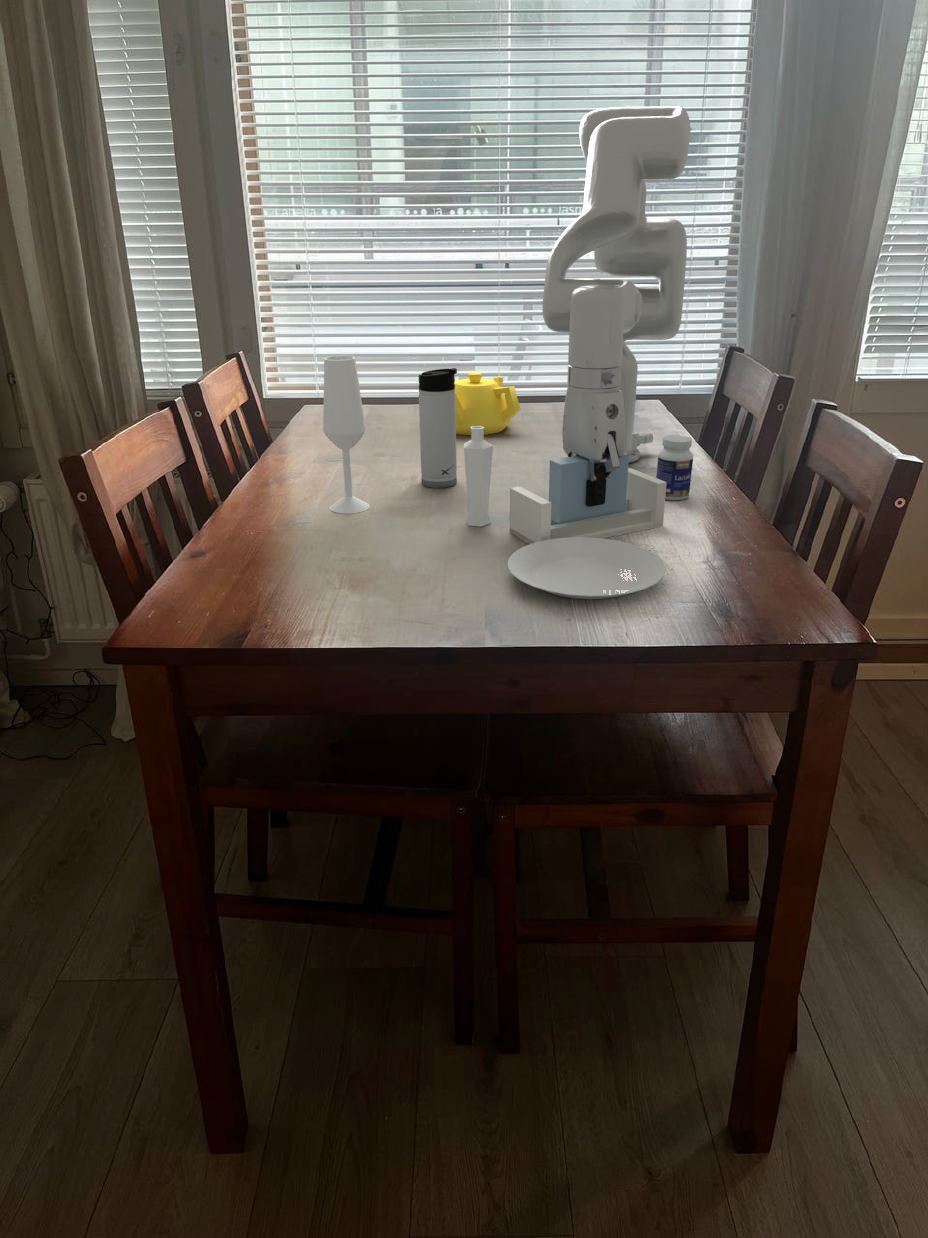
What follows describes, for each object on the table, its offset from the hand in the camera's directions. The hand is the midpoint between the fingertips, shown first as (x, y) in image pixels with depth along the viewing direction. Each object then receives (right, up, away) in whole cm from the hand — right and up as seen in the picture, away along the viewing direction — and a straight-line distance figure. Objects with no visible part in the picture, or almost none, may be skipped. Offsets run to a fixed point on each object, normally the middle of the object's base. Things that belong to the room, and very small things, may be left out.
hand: (588, 500), depth 137 cm
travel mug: (-23, +6, +25) cm, 34 cm away
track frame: (0, -4, +2) cm, 5 cm away
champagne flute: (-38, 0, +13) cm, 40 cm away
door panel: (0, -2, +1) cm, 2 cm away
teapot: (-16, +24, +63) cm, 69 cm away
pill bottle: (+16, +3, +17) cm, 23 cm away
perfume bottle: (-17, -3, +6) cm, 18 cm away
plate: (-2, -13, -15) cm, 20 cm away
